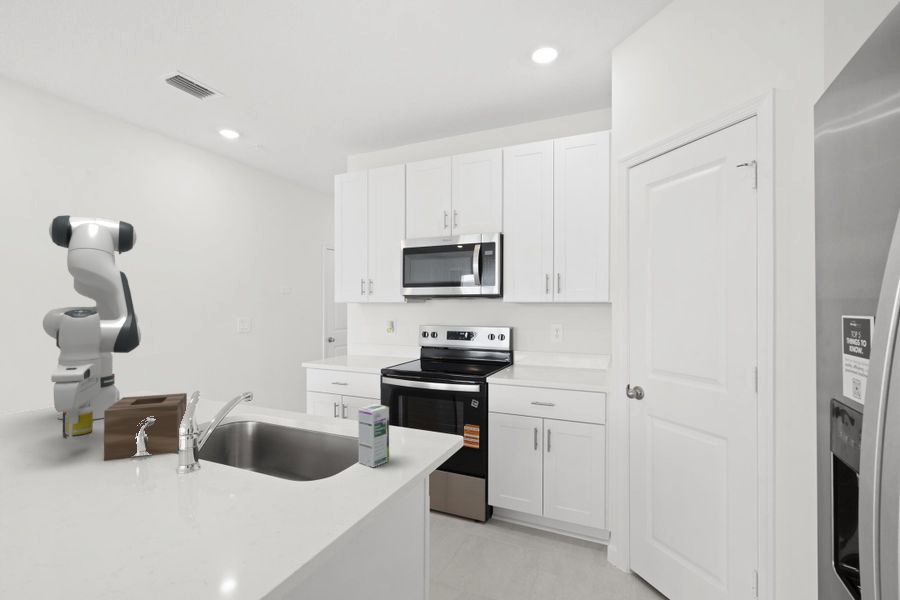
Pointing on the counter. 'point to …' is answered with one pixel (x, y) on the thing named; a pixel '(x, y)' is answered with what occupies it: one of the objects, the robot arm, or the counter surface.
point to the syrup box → (373, 434)
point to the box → (131, 412)
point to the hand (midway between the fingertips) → (79, 419)
